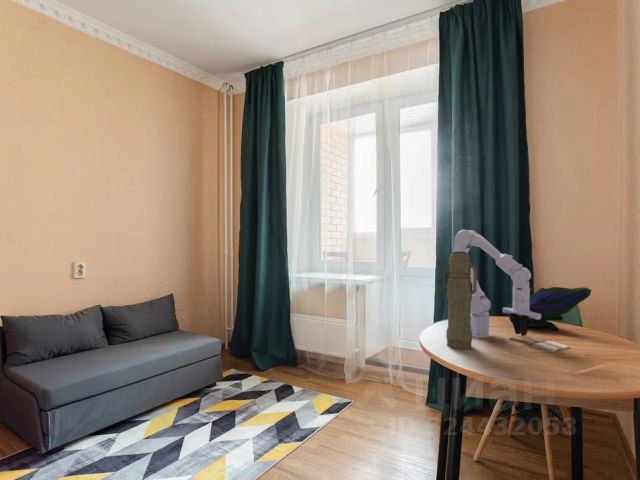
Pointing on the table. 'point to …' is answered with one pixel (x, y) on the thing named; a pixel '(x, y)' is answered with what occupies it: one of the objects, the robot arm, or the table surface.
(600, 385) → the table surface
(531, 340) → the plank
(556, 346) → the laid board
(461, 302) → the thermos
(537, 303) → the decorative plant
